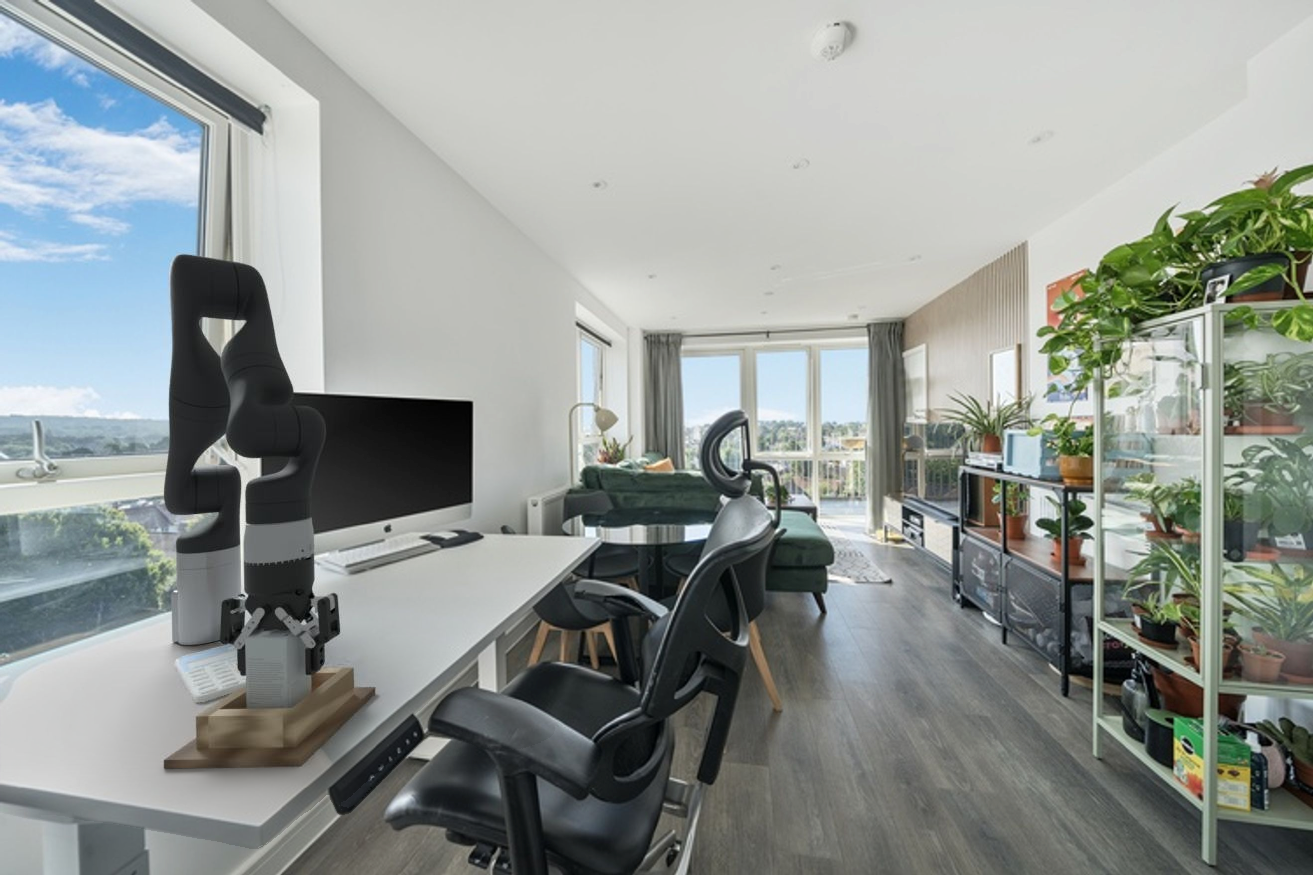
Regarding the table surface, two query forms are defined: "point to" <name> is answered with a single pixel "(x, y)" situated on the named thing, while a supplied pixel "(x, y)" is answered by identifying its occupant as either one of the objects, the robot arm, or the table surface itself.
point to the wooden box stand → (272, 726)
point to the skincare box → (275, 670)
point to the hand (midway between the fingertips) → (281, 672)
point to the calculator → (210, 673)
